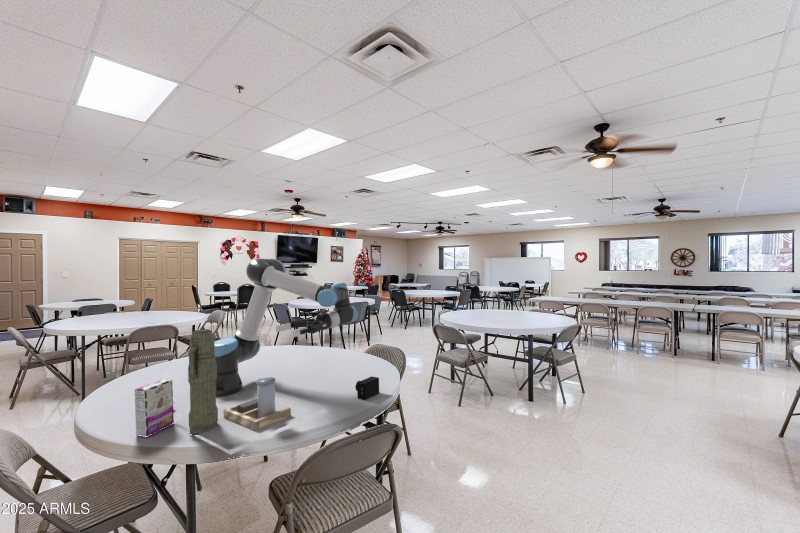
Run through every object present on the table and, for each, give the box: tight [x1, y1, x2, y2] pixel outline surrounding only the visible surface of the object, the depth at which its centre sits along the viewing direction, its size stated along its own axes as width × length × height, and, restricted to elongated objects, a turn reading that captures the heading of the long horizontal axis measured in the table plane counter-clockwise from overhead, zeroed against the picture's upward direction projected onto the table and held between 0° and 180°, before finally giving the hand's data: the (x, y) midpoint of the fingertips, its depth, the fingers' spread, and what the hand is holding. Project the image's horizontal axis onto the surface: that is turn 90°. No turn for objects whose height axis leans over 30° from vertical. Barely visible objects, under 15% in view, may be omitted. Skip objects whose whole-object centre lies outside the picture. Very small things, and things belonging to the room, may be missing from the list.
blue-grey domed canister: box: [255, 376, 276, 419], centre depth 130 cm, size 7×7×14 cm
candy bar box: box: [134, 378, 175, 436], centre depth 125 cm, size 11×5×16 cm, turn 168°
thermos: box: [187, 328, 219, 436], centre depth 125 cm, size 9×12×35 cm
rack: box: [223, 397, 292, 431], centre depth 133 cm, size 20×14×4 cm
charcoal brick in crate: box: [237, 398, 258, 414], centre depth 136 cm, size 4×9×4 cm, turn 145°
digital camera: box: [354, 375, 380, 401], centre depth 156 cm, size 10×5×7 cm, turn 148°
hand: (283, 331), depth 147 cm, fingers open, 13 cm apart
